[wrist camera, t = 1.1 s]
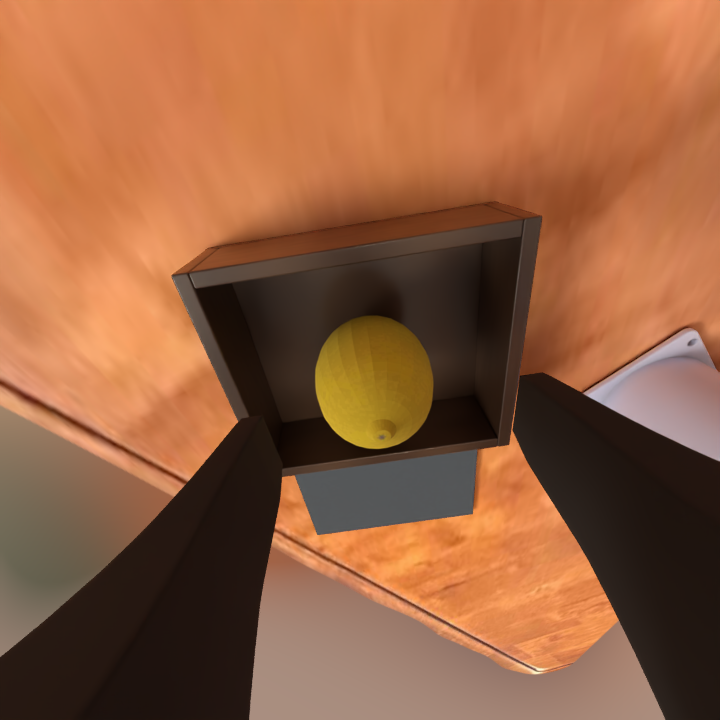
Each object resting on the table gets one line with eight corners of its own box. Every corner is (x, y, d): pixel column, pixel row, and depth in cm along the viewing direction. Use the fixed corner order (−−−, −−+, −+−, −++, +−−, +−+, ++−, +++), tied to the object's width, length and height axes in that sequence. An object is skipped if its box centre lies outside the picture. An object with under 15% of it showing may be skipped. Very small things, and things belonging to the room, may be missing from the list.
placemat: (478, 409, 23) (480, 413, 23) (471, 510, 29) (472, 514, 29) (282, 437, 23) (281, 441, 23) (317, 530, 30) (317, 535, 30)
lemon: (401, 278, 17) (440, 359, 11) (422, 361, 20) (464, 466, 14) (304, 310, 18) (283, 404, 11) (338, 386, 21) (338, 497, 14)
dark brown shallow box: (496, 201, 16) (543, 215, 12) (482, 398, 23) (509, 445, 19) (207, 248, 16) (169, 275, 13) (276, 428, 23) (264, 479, 19)
